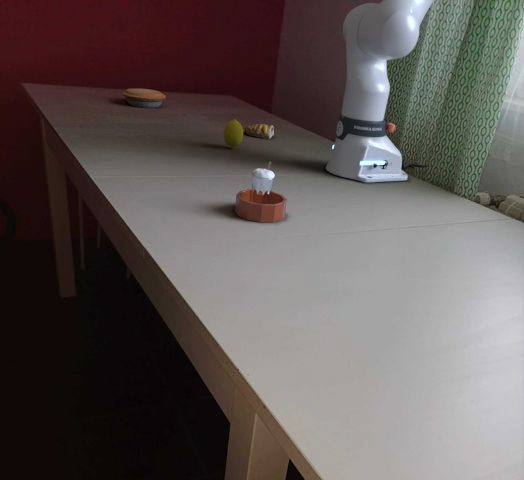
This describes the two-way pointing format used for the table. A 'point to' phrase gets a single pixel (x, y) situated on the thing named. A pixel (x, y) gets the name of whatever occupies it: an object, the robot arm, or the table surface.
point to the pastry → (260, 130)
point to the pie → (144, 97)
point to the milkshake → (262, 185)
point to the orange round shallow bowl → (260, 207)
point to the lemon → (233, 133)
